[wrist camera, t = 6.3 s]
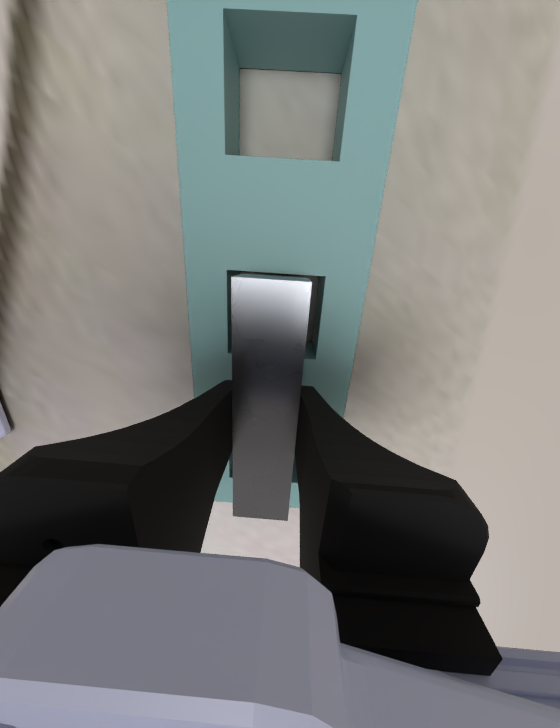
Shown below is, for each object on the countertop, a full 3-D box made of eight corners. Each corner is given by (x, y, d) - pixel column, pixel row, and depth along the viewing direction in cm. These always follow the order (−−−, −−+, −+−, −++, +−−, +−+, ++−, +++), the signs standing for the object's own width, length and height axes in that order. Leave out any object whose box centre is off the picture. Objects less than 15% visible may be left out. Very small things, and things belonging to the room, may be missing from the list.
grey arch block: (250, 442, 16) (233, 515, 12) (254, 270, 12) (231, 276, 8) (288, 445, 16) (287, 520, 11) (304, 273, 12) (312, 281, 8)
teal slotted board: (322, 475, 17) (326, 510, 15) (213, 466, 17) (201, 499, 15) (396, 5, 9) (432, -83, 7) (193, -5, 9) (160, -94, 7)
